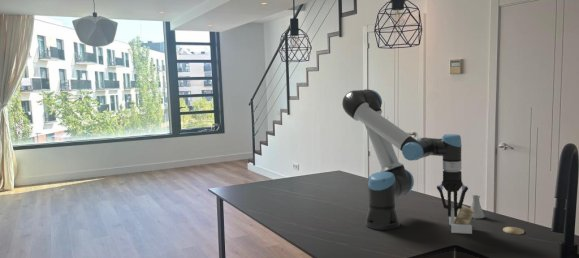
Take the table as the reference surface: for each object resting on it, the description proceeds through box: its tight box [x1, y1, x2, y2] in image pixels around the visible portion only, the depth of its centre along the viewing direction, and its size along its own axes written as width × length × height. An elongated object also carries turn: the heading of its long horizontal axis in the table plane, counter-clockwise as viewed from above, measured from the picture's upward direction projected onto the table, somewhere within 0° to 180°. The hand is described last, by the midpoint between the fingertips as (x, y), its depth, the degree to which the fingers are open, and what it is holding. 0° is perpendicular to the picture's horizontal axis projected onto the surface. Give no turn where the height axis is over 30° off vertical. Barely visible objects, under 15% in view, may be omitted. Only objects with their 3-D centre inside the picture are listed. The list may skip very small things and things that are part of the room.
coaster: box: [502, 226, 525, 236], centre depth 183 cm, size 8×8×1 cm
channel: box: [448, 217, 473, 235], centre depth 189 cm, size 8×11×4 cm
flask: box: [470, 194, 486, 219], centre depth 204 cm, size 7×7×10 cm
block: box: [454, 204, 474, 225], centre depth 188 cm, size 5×5×9 cm
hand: (452, 224), depth 189 cm, fingers closed
